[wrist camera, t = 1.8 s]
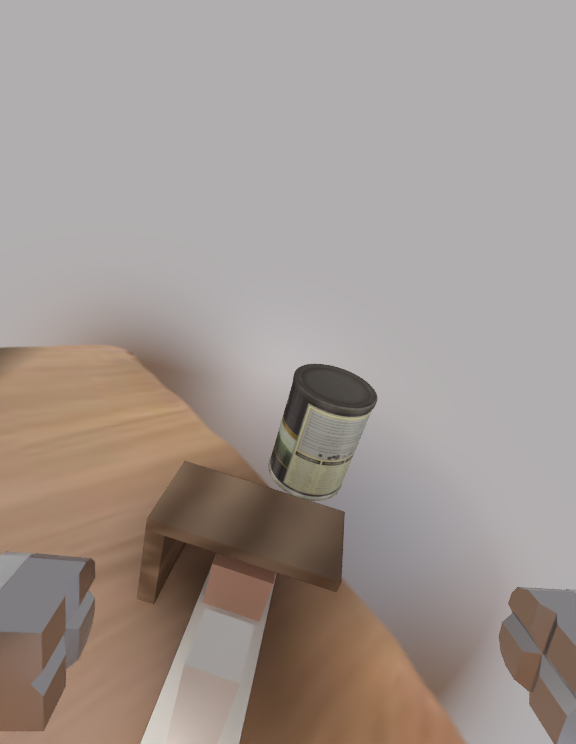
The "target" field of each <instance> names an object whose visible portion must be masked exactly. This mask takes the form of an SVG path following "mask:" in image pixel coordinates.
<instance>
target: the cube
mask: <svg viewBox="0 0 576 744" xmlns="http://www.w3.org/2000/svg"><path fill="white" fill-rule="evenodd" d="M275 575H276V572H273V571H270V570H267V569H264V568H261V567H258V566H255V565H252V564H249V563H246V562H243V561H240V560H237V559H234V558H231V557H227V556H224V555H221V554H218V553H217V554H216V557H215V559H214V562H213V564H212V568H211V572H210V577H209V581H208V585H207V589H206V593H205V597H204V601H203V603H205V604H208V605H211V606H214V607H217V608H220V609H223V610H226V611H229V612H232V613H235V614H238V615H241V616H244V617H247V618H250V619H253V620H256V621H259V622H260V620H261V617H262V614H263V611H264V609H265V606H266V603H267V600H268V598H269V595H270V592H271V589H272V587H273V584H274V579H275Z"/></svg>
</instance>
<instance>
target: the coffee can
mask: <svg viewBox="0 0 576 744" xmlns="http://www.w3.org/2000/svg"><path fill="white" fill-rule="evenodd" d="M376 402H377V394H376V392H375V391H374V389H373V388H372V387H371V386H370V385H369V384H368V383H367V382H366V381H365V380H363V379H362V378H360V377H359V376H357V375H355V374H353V373H351V372H349V371H346V370H344V369H341V368H338V367H334V366H330V365H323V364H308V365H304V366H301V367H299V368H298V369H297V370H296V371H295V373H294V378H293V384H292V387H291V391H290V394H289V398H288V401H287V404H286V408H285V411H284V415H283V419H282V422H281V425H280V429H279V432H278V436H277V439H276V442H275V446H274V449H273V452H272V456H271V458H270V460H269V471H270V474H271V476H272V478H273V479H274V481H275V482H276V483H277V484H278V485H279V486H280V487H281V488H282V489H283V490H285V491H286V492H288V493H290V494H291V495H294V496H296V497H300V498H303V499H306V500H313V501H314V500H324V499H328V498H331V497H332V496H334V495H335V494H337V492H338V491H339V489H340V487H341V484H342V480H343V478H344V476H345V473H346V471H347V469H348V466H349V464H350V461H351V459H352V457H353V454H354V452H355V449H356V447H357V445H358V442H359V440H360V437H361V435H362V433H363V430H364V428H365V425H366V423H367V421H368V418H369V416H370V413H371V411H372V409H373V408H374V407H375V404H376Z"/></svg>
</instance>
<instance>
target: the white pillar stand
mask: <svg viewBox="0 0 576 744" xmlns="http://www.w3.org/2000/svg"><path fill="white" fill-rule="evenodd" d="M216 554H217V553H216ZM215 557H216V555H215ZM214 559H215V558H214ZM213 562H214V560H213ZM212 564H213V563H212ZM211 568H212V565H211ZM211 568H210V570H209V573H208V575H207V578H206V580H205V583H204V586H203V588H202V591H201V593H200V596H199V598H198V601H197V603H196V606H195V608H194V611H193V613H192V616H191V618H190V621H189V623H188V626H187V628H186V631H185V633H184V636H183V638H182V641H181V643H180V646H179V648H178V651H177V653H176V656H175V658H174V661H173V663H172V666H171V668H170V671H169V673H168V676H167V678H166V681H165V683H164V686H163V688H162V691H161V693H160V696H159V698H158V701H157V703H156V706H155V708H154V711H153V713H152V716H151V718H150V721H149V723H148V726H147V728H146V731H145V733H144V736H143V738H142V741H141V743H140V744H239V742H240V737H241V733H242V728H243V724H244V719H245V714H246V710H247V705H248V701H249V696H250V692H251V687H252V683H253V678H254V673H255V669H256V664H257V660H258V655H259V651H260V646H261V642H262V637H263V632H264V628H265V623H266V619H267V614H268V610H269V605H270V601H271V596H272V591H273V587H274V584H273V587H272V589H271V592H270V595H269V598H268V600H267V603H266V606H265V609H264V611H263V614H262V617H261V620H260V622H259V621H256V620H253V619H250V618H247V617H244V616H241V615H238V614H235V613H232V612H229V611H226V610H223V609H220V608H217V607H214V606H211V605H208V604H205V603H203V601H204V597H205V593H206V589H207V585H208V581H209V577H210V572H211ZM275 578H276V575H275ZM274 582H275V579H274Z"/></svg>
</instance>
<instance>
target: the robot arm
mask: <svg viewBox="0 0 576 744" xmlns="http://www.w3.org/2000/svg"><path fill="white" fill-rule="evenodd" d="M94 579H95V562H94V561H93V560H92V559H91V558H81V557H70V556H59V555H48V554H37V553H36V554H31V553H20V552H9V551H6V552H4V553H2V554H0V731H44V729H45V727H46V725H47V723H48V721H49V719H50V717H51V715H52V713H53V711H54V709H55V707H56V705H57V703H58V701H59V699H60V697H61V695H62V693H63V691H64V688H65V686H66V669H67V668H68V667H69V666H71V665H72V664H73V663H75V662H76V661H77V660H78V659H79V657H80V655H81V653H82V651H83V649H84V647H85V645H86V642H87V639H88V636H89V633H90V629H91V626H92V622H93V616H94V610H95V598H94V596H93V595H92V594H91V593H90V591H89V588H90V586H91V584H92V582H93V581H94ZM508 604H509V606H510V608H511V610H512V614H511V615H510V616H509V617H508V618H506V619H505V620H504V621H503V622H502V626H501V630H500V634H499V641H500V649H501V654H502V657H503V659H504V662H505V665H506V667H507V668H508V670H509V672H510V673H511V675H512V677H513V678H514V680H516V681H517V682H518V683H519V684H521V685H522V686H523V687H524V688H525V689H527V690H528V691H529V692H530V693H529V696H530V697H529V700H530V701H529V704H530V706H531V708H532V709H533V711H534V712H535V714H536V715H537V717H538V719H539V720H540V722H541V724H542V725H543V727H544V728H545V730H546V732H547V733H548V735H549V736H550V738H551V740H552V741H553V743H554V744H576V590H569V589H566V590H559V589H558V590H557V589H542V588H525V587H517V588H516V589H515V590H514V591H513V592H512V594H511V597H510V600H509V603H508Z"/></svg>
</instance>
